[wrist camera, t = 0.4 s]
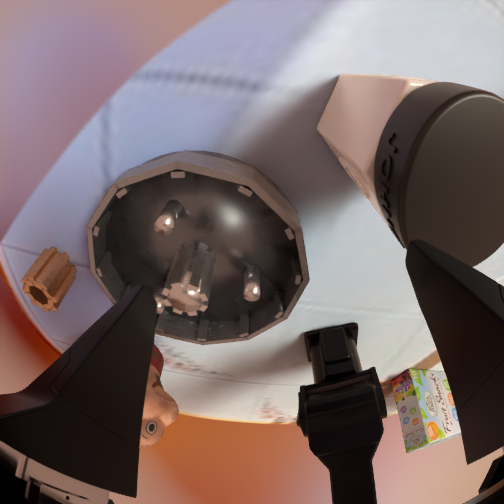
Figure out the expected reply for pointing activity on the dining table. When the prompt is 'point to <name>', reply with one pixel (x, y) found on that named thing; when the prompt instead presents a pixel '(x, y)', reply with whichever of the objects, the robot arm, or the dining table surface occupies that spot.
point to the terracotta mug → (156, 404)
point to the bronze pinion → (49, 279)
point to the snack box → (425, 408)
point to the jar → (424, 158)
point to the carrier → (201, 246)
